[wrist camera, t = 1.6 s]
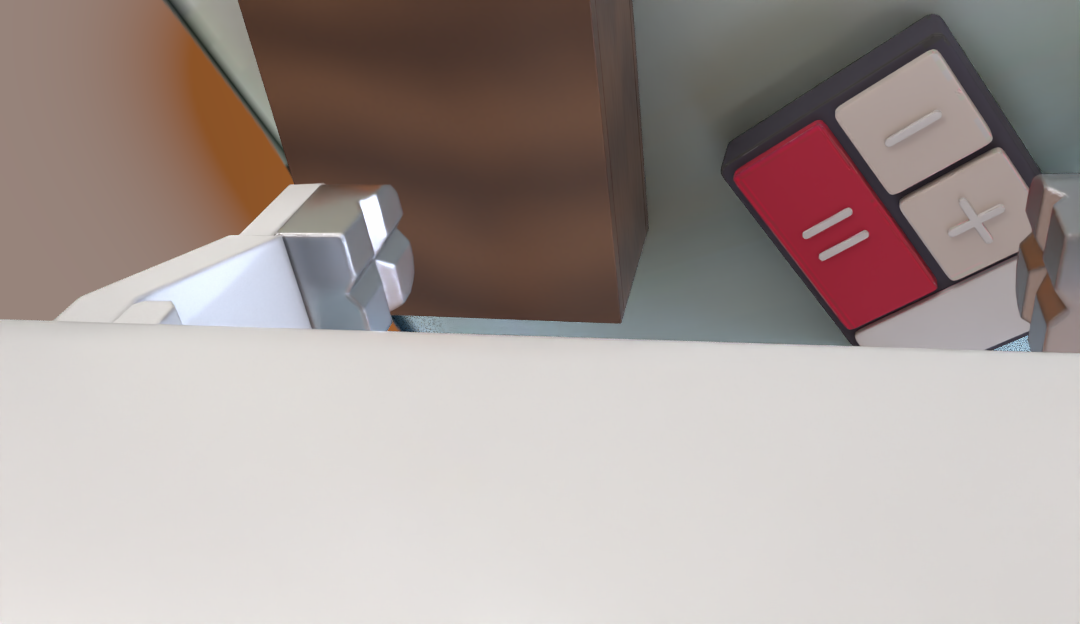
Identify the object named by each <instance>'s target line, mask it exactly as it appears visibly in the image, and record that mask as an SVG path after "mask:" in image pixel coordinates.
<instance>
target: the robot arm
mask: <svg viewBox="0 0 1080 624" xmlns="http://www.w3.org/2000/svg"><path fill="white" fill-rule="evenodd" d="M1025 212H1026V214H1027V217H1028V220H1029V223H1030V226H1031V229H1032V232H1031V233H1030V234H1029V235H1028V236H1027V237H1026V238H1025V239H1024V240H1023V241H1022V242H1021V243H1020V244H1019V250H1018V258H1017V265H1016V284H1015V292H1016V299H1017V306H1018V310H1019V313H1020V317H1021V318H1022V319H1023V320H1025V321H1026V322H1028V323H1030V329H1029V335H1028V343H1029V346H1030V350H1031V352H1023V351H991V350H959V349H927V348H896V347H864V346H832V345H801V344H769V343H738V342H706V341H675V340H643V339H612V338H581V337H549V336H518V335H486V334H455V333H423V332H391V331H387V330H388V328H389V327H390V325H391V324H392V318H391V314H390V311H392V310H394V309H396V308H398V307H399V306H401V305H403V304H404V303H405V301H406V300H407V298H408V296H409V294H410V293H411V289H412V284H413V279H414V274H415V272H414V256H413V252H412V248H411V243H410V241H409V240H408V239H407V238H406V237H405V236H404V235H403V234H402V233H401V232H400V231H399V230H398V229H397V226H398V224H399V222H400V220H401V218H402V216H403V210H402V207H401V203H400V200H399V196H398V193H397V192H396V190H395V189H394V188H393V187H392V186H391V185H390V184H324V183H317V184H298V185H289V186H288V187H287V188H286V189H285V190H284V191H283V192H282V193H281V194H280V195H279V196H278V197H277V198H276V199H275V200H274V201H273V202H272V203H271V204H270V205H269V206H268V207H267V208H266V209H265V210H264V211H263V212H262V213H261V214H260V215H259V216H258V217H257V218H256V219H255V220H254V221H253V222H252V223H251V224H250V225H249V226H248V227H247V228H246V229H245V230H244V231H243V232H242V233H241V234H240V235H237V236H236V235H229V236H227V237H224V238H222V239H220V240H217V241H215V242H212V243H210V244H207V245H205V246H203V247H200V248H198V249H195V250H193V251H190V252H188V253H186V254H183V255H181V256H178V257H176V258H173V259H171V260H169V261H166V262H164V263H161V264H159V265H156V266H154V267H152V268H149V269H147V270H144V271H142V272H139V273H137V274H135V275H132V276H130V277H127V278H125V279H122V280H120V281H117V282H115V283H113V284H110V285H108V286H105V287H103V288H100V289H98V290H96V291H93V292H91V293H89V294H86V295H84V296H81V297H79V298H78V299H77V300H76V301H75V302H74V303H73V304H71V305H70V306H69V307H68V308H67V309H66V310H65V311H63V312H62V313H61V314H60V315H59V316H58V317H57V318H55V319H54V320H53V321H40V320H7V319H0V624H1080V173H1067V174H1039V175H1037V176H1035V177H1033V179H1032V182H1031V185H1030V189H1029V192H1028V197H1027V203H1026V208H1025Z"/></svg>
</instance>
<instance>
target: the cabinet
mask: <svg viewBox="0 0 1080 624" xmlns="http://www.w3.org/2000/svg"><path fill="white" fill-rule="evenodd" d="M238 2H239V6H240V9H241V12H242V15H243V19H244V22H245V25H246V28H247V32H248V35H249V38H250V41H251V45H252V48H253V51H254V54H255V58H256V61H257V64H258V68H259V71H260V74H261V77H262V81H263V84H264V87H265V90H266V94H267V97H268V100H269V103H270V107H271V110H272V113H273V116H274V120H275V123H276V126H277V129H278V133H279V136H280V139H281V142H282V146H283V149H284V152H285V155H286V159H287V162H288V165H289V169H290V172H291V175H292V178H293V182H294V185H298V184H317V183H324V184H390V185H391V186H392V187H393V188H394V189H395V190H396V192H397V193H398V196H399V200H400V203H401V207H402V210H403V216H402V218H401V220H400V222H399V224H398V226H397V229H398V230H399V231H400V232H401V233H402V234H403V235H404V236H405V237H406V238H407V239H408V240H409V241H410V243H411V248H412V252H413V256H414V272H415V274H414V279H413V284H412V289H411V293H410V294H409V296H408V298H407V300H406V301H405V303H404V304H403V305H401V306H399V307H398V308H396V309H394V310H392V311H390V314H391V315H410V316H436V317H462V318H488V319H515V320H541V321H567V322H593V323H619V324H620V323H622V319H623V316H624V312H625V308H626V305H627V301H628V298H629V294H630V291H631V287H632V284H633V281H634V277H635V274H636V270H637V267H638V263H639V260H640V256H641V253H642V249H643V246H644V243H645V239H646V235H647V232H648V229H649V227H648V213H647V199H646V185H645V171H644V157H643V142H642V128H641V114H640V100H639V86H638V72H637V57H636V43H635V29H634V15H633V1H632V0H238Z"/></svg>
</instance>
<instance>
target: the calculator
mask: <svg viewBox="0 0 1080 624" xmlns="http://www.w3.org/2000/svg"><path fill="white" fill-rule="evenodd" d="M721 174H722V176H723V178H724V179H725V181H726V182H727V183H728V184H729V186H730V187H731V188H732V190H733V191H734V192H735V194H736V195H737V196H738V197H739V199H740V200H741V201H742V203H743V204H744V205H745V207H746V208H747V209H748V210H749V212H750V213H751V214H752V216H753V217H754V218H755V220H756V221H757V222H758V223H759V225H760V226H761V227H762V229H763V230H764V231H765V233H766V234H767V235H768V236H769V238H770V239H771V240H772V242H773V243H774V244H775V246H776V247H777V248H778V249H779V251H780V252H781V253H782V255H783V256H784V257H785V259H786V260H787V261H788V262H789V264H790V265H791V266H792V268H793V269H794V270H795V272H796V273H797V274H798V276H799V277H800V278H801V279H802V281H803V282H804V283H805V285H806V286H807V287H808V289H809V290H810V291H811V292H812V294H813V295H814V296H815V298H816V299H817V300H818V302H819V303H820V304H821V305H822V307H823V308H824V309H825V311H826V312H827V313H828V315H829V316H830V317H831V318H832V320H833V321H834V322H835V324H836V325H837V326H838V328H839V329H840V330H841V331H842V333H843V334H844V335H845V337H846V338H847V339H848V341H849V342H850V343H851V344H852V346H864V347H896V348H927V349H959V350H994V349H996V348H999V347H1001V346H1003V345H1006V344H1008V343H1010V342H1013V341H1015V340H1018V339H1020V338H1022V337H1025V336H1027V335H1029V329H1030V323H1028V322H1026V321H1025V320H1023V319H1022V318H1021V317H1020V313H1019V310H1018V306H1017V299H1016V292H1015V284H1016V265H1017V258H1018V250H1019V244H1020V243H1021V242H1022V241H1023V240H1024V239H1025V238H1026V237H1027V236H1028V235H1029V234H1030V233H1031V232H1032V229H1031V226H1030V223H1029V220H1028V217H1027V214H1026V212H1025V208H1026V203H1027V197H1028V192H1029V189H1030V185H1031V182H1032V179H1033V177H1035V176H1037V175H1039V174H1042V172H1041V171H1040V169H1039V168H1038V166H1037V165H1036V163H1035V162H1034V160H1033V158H1032V157H1031V155H1030V154H1029V152H1028V151H1027V149H1026V148H1025V146H1024V144H1023V143H1022V141H1021V140H1020V138H1019V137H1018V135H1017V134H1016V132H1015V131H1014V129H1013V127H1012V126H1011V124H1010V123H1009V121H1008V120H1007V118H1006V117H1005V115H1004V114H1003V112H1002V110H1001V109H1000V107H999V106H998V104H997V103H996V101H995V100H994V98H993V97H992V95H991V93H990V92H989V90H988V89H987V87H986V86H985V84H984V83H983V81H982V80H981V78H980V76H979V75H978V73H977V72H976V70H975V69H974V67H973V66H972V64H971V62H970V61H969V59H968V58H967V56H966V55H965V53H964V52H963V50H962V49H961V47H960V45H959V44H958V42H957V41H956V39H955V38H954V36H953V35H952V33H951V32H950V30H949V28H948V27H947V25H946V24H945V22H944V21H943V19H942V18H941V17H940V16H938V15H936V14H930V15H927V16H925V17H924V18H922V19H921V20H919V21H917V22H916V23H914V24H913V25H911V26H910V27H908V28H906V29H905V30H903V31H902V32H900V33H899V34H897V35H896V36H894V37H892V38H891V39H889V40H888V41H886V42H885V43H883V44H882V45H880V46H878V47H877V48H875V49H874V50H872V51H871V52H869V53H868V54H866V55H864V56H863V57H861V58H860V59H858V60H857V61H855V62H853V63H852V64H850V65H849V66H847V67H846V68H844V69H843V70H841V71H839V72H838V73H836V74H835V75H833V76H832V77H830V78H829V79H827V80H825V81H824V82H822V83H821V84H819V85H818V86H816V87H815V88H813V89H811V90H810V91H808V92H807V93H805V94H804V95H802V96H801V97H799V98H797V99H796V100H794V101H793V102H791V103H790V104H788V105H787V106H785V107H783V108H782V109H780V110H779V111H777V112H776V113H774V114H772V115H771V116H769V117H768V118H766V119H765V120H763V121H762V122H760V123H758V124H757V125H755V126H754V127H752V128H751V129H749V130H748V131H746V132H744V133H743V134H741V135H740V136H738V137H737V138H735V139H734V140H732V141H731V142H730V143H729V144H728V146H727V149H726V153H725V156H724V160H723V163H722V167H721Z"/></svg>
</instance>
